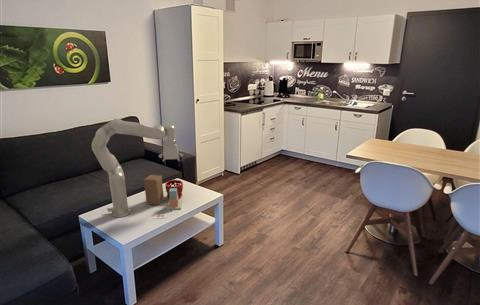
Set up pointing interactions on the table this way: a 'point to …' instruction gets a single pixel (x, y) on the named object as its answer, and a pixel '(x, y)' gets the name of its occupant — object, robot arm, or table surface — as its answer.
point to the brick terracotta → (174, 202)
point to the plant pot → (178, 186)
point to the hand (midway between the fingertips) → (171, 166)
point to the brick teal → (173, 193)
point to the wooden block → (154, 189)
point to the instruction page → (160, 216)
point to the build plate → (174, 207)
